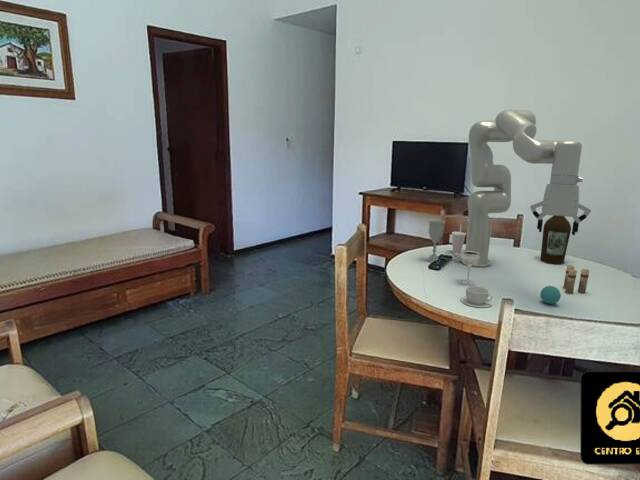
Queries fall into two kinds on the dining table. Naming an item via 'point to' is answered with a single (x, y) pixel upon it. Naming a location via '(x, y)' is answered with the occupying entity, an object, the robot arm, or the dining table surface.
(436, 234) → the chalice
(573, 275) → the front pin
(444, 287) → the dining table surface
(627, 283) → the dining table surface
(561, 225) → the olive oil
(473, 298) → the teacup
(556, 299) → the ball
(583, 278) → the back right pin
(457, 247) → the smoothie
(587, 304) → the dining table surface
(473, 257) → the wineglass
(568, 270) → the back left pin
